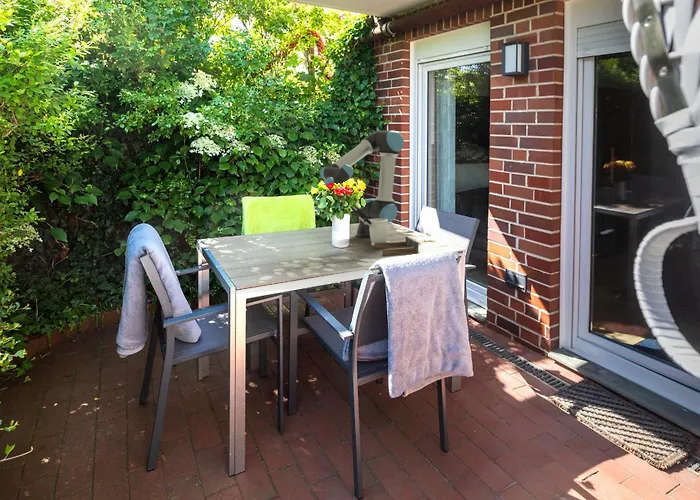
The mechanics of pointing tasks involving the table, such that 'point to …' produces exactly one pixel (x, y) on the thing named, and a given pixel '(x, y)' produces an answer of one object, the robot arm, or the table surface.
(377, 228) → the jar
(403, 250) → the channel
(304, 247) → the table surface
